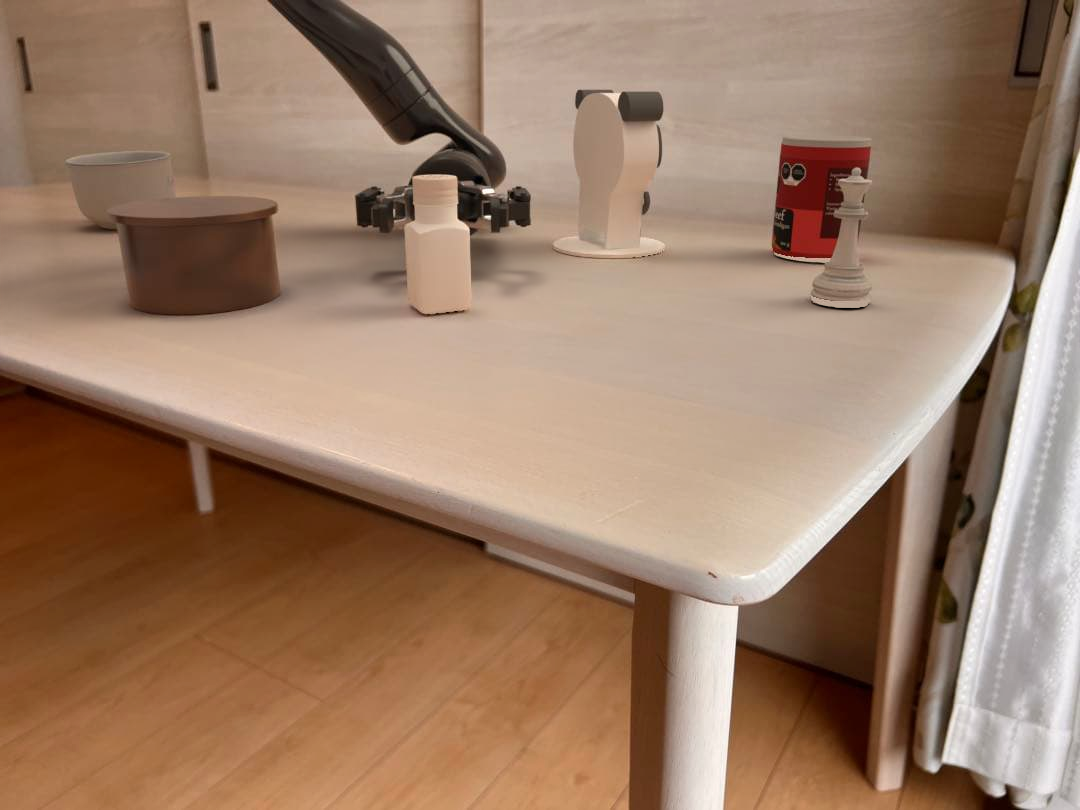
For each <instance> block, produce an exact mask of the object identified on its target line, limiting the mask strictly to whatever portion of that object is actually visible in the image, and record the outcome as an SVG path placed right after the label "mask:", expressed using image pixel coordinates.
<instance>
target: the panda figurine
mask: <svg viewBox="0 0 1080 810" xmlns="http://www.w3.org/2000/svg"><path fill="white" fill-rule="evenodd" d="M574 105H575V106H574V107H575V109H576V110H577V111H576V118H575V123H574V129H573V141H572V146H573V147H572V148H573V160H574V161H573V162H574V167H575V171H576V175H577V177H578V180H579V212H578V235H573V236H567V237H562V238H559V239H556V240H554V241H553V242H552V248H553V250H554V251H556V252H558V253H561V254H565V255H569V256H573V257H574V256H575V257H583V258H593V259H633V257H635V258H643V257H642V256H645V257H649V256H648V255H651V256H654V255H653V254H656V255H658V254H657V253H659V254H661V253H663V252H665V251H666V244H665V243H664V242H662V241H660V240H658V239H654V238H649V237H644V236H641V231H642V216H644V215H646V214H647V213H648V211H649V209H650V205H651V196H650V192H649V191H647V190H648V189H649V187H650V185H651V184H652V182H653V179H654V177H655V174H656V172H657V169H658V168H660V166H661V163H662V157H663V140H662V139H663V138H662V132H661V127H660V126H659V125H658V124H657V122H659V121H661V119H662V117H663V114H664V100H663V95H662V94H661V93H660V92H659V91H622V92H614V90H613V89H578V90H577V91H576V92H575V98H574ZM662 251H663V252H662ZM660 252H661V253H660Z"/></svg>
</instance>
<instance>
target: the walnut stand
mask: <svg viewBox="0 0 1080 810" xmlns="http://www.w3.org/2000/svg"><path fill="white" fill-rule="evenodd" d="M278 212H279V203H278V202H277V201H276V200H273V199H270V198H265V197H256V196H243V195H200V196H199V195H197V196H178V197H176V198H164V199H153V200H145V201H137V202H131V203H125V204H121V205H117V206H114V207H111V208H109V209H108V210H107V217H108V219H109V220H110V221H111V222H115V223H116V225H117V230H116V231H117V237H118V242H119V248H120V253H121V254H120V255H121V259H122V265H123V270H124V271H123V272H124V276H125V277H124V278H125V282H126V287H127V288H126V289H127V294H128V299H129V304H130V307H132V308H133V309H135V310H137V311H141V312H144V313H150V314H155V315H157V314H158V315H172V316H186V315H187V316H188V315H189V316H190V315H192V316H193V315H207V314H217V313H226V312H233V311H239V310H244V309H249V308H252V307H257V306H260V305H264V304H267V303H268V302H272V301H273V300H275V299H276V298H278V297H279V296H280V294H281V287H280V286H281V284H280V274H279V266H278V256H277V247H276V238H275V229H274V227H275V226H274V219H273V218H274V217H273V216H274V215H276V214H277V213H278Z"/></svg>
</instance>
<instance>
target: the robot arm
mask: <svg viewBox="0 0 1080 810" xmlns="http://www.w3.org/2000/svg"><path fill="white" fill-rule="evenodd" d="M266 1H267V2H268V4H270V5H271V6H272V7H273V8H274V9H275V10H276V11H277V12H278V13H279V14H280V15H281V16H282V17H283V18H284V19H285V20H286V21H287V22H288V23H289V24H290V25H291V26H292V27H293V28H294V29H296V30H297V32H298V33H300V34H301V36H302V37H304V38H305V39H306V40H307V42H309V43H310V45H312V47H314V48H315V49H316V50H317V51H318V52H319V53H320V55H321V56H323V57H324V58H325V59H326V61H327V62H328V63H329V64H330V65H331V66H332V67H333V68H334V70H335V71H336V72H337V73H338V74H339V75H340V77H342V79H343V80H344V81H345V82H346V84H347V85H348V86H349V87H350V88H351V90H352V91H353V93H355V95H356V96H357V97H358V99H359V100H360V102H362V104H363V105H364V107H365V108H366V109H367V111H368V112H369V113H370V114H371V116H372V117H373V118H374V120H375V121H376V122H377V123H378V124H379V126H381V128H382V130H383V131H384V132H385V133H386V135H387V136H388V138H390V139H391V140H392V141H393V142H394V143H395V144H397V145H399V146H407V145H410V144H412V143H414V142H416V141H418V140H421V139H422V138H425V137H427V136H430V135H435V134H437V135H442V136H445V137H447V138H449V140H450V141H449V142H448V143H446V144H445V145H444V146H442V147H441V148H440V149H438V150H437V151H436V152H434V153H433V154H432V155H430V156H429V157H428V158H427V159H425V160H424V161H423V162H422V163H420V164H419V165H418V166H416V167H415V169H414V170H413V172H412V174H411V177H410V179H409V181H408V184H407V185H401V186H396V187H394V189H393V192H392V193H388V194H387V193H385V189H382V188H381V187H378V186H370V187H368V188H365V189H364V190H362V191H360V192H358V193H357V194H355V195H354V201H355V211H356V212H355V214H356V216H355V217H356V226H357V227H361V228H362V229H363V228H364V229H365V228H369V227H372V228H374V229H375V228H376V229H379V230H378V231H379V233H380V234H390V233H391V232H392V230H393V229H394V227H396V228H397V229H402V230H404V227H405V225H406V224H408V223H410V222H412V221H414V220H415V208H414V204H413V182H412V177H413V176H418V175H453V176H456V177H457V187H458V188H457V190H458V194H457V196H458V204H457V218H458V220H459V221H462V222H463V223H465V224H466V225H467V226H468V227H469V230H470V237H471V236H473V235H474V234H475V233H477V232H478V231H479V230H489V229H490V233H491V234H500V233H501V229H505V228H508V227H510V222H513V221H514V223H515V225H516V226H518V227H520V228H526V227H528V226H531V225H532V218H531V201H532V195H531V193H530V192H529V190H528V189H527V188H526V187H522V186H521V185H518V186H515V187H511V189H507V192H506V193H507V194H505V193H497V192H495V190H496V189H497V188H498V187H500V186H501V185H502V184H503V183H504V181H505V180H506V177H507V163H506V159H505V157H504V155H503V153H502V151H501V149H500V148H499V147H498V146H497V145H496V143H494V141H492V140H491V139H490V138H489V137H487V136H486V135H485V134H483V132H482V131H480V130H479V129H477V128H476V127H475V126H474V125H472V124H470V122H468V121H467V120H466V119H464V118H463V117H462V116H461V115H460V114H459V113H457V111H455V110H454V109H453V108H452V107H451V106H450V105H449V104H448V103H447V102H446V101H445V100H444V99H443V97H442V95H441V94H440V93H439V92H438V91H437V90H436V88H435V87H434V85H432V83H431V82H430V80H429V78H427V76H426V74H425V73H424V72H423V71H422V69H421V68H420V67H419V65H418V64H417V62H416V61H415V59H414V58H413V56H412V55H411V54H410V53H409V52H408V51H407V49H406V48H405V47H404V46H403V45H402V44H401V43H400V42H399V40H398V39H396V38H395V37H394V36H393V35H392V34H391V33H389V32H388V31H387V30H385V29H384V28H383V27H381V26H380V25H378V24H377V23H375V22H374V21H372V20H371V19H369V18H368V17H366V16H365V15H364V14H361V13H360V12H358V11H357V10H355V9H354V8H353V7H351V6H349V5H348V4H346V3H345V2H344V1H343V0H266Z"/></svg>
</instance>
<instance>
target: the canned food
mask: <svg viewBox="0 0 1080 810" xmlns="http://www.w3.org/2000/svg"><path fill="white" fill-rule="evenodd" d="M781 139H782V140H781V146H780V153H779V162H778V173H777V181H776V182H777V184H776V193H775V204H774V214H773V225H772V234H771V235H772V237H771V249H772V253H773V252H775V253H777V254H781V255H785V256H791V257H792V256H793V257H805V258H832V256H833V253H834V250H835V247H836V244H837V241H838V237H839V232H840V227H841V221H842V219H841V218H837V217H834V211H835V210H839V208H840V207H842V206H841V203H842V202H844V194H843V192H842V189H841V187H840V185H839V184H838V180H839V179H847V178H848V177H849V176H852V170H853V169H854V168H860V169H861V174H860V176H861V177H863V178H864V179H866V180H868V176H869V175H868V174H869V167H870V159H871V151H872V138H870V137H866V136H855V135H841V134H840V135H837V134H836V135H835V134H792V135H785V136H783V137H782V138H781ZM865 196H866V192H865V193H864V195H863V198H862V202H861V203H863V205H864V202H865ZM862 208H864V206H863V207H862ZM861 223H862V219H859V224H858V236H857V245H858V246H859V240H860V231H861V225H862V224H861Z"/></svg>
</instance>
